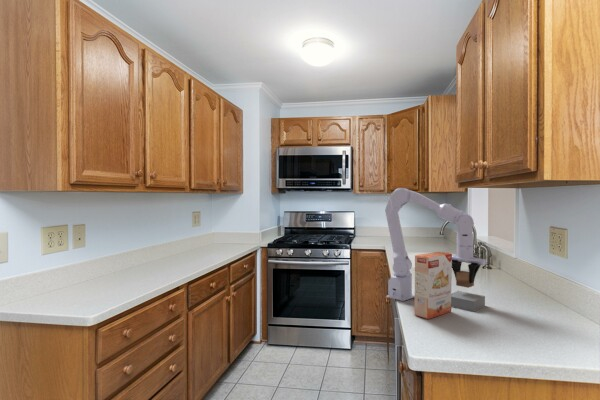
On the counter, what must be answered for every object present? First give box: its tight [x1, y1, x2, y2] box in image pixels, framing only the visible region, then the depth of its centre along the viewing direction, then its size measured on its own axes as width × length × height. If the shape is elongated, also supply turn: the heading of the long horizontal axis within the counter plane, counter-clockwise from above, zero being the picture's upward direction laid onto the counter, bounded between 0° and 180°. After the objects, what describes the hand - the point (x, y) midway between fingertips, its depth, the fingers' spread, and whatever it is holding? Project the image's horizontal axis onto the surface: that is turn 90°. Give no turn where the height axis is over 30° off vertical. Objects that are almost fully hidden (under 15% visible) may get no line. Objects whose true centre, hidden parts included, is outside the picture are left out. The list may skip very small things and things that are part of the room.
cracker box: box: [413, 251, 453, 320], centre depth 125 cm, size 14×6×21 cm, turn 126°
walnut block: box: [455, 270, 475, 289], centre depth 136 cm, size 5×5×5 cm
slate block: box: [451, 290, 486, 312], centre depth 134 cm, size 10×10×4 cm
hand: (464, 281), depth 136 cm, fingers closed on walnut block, 5 cm apart
